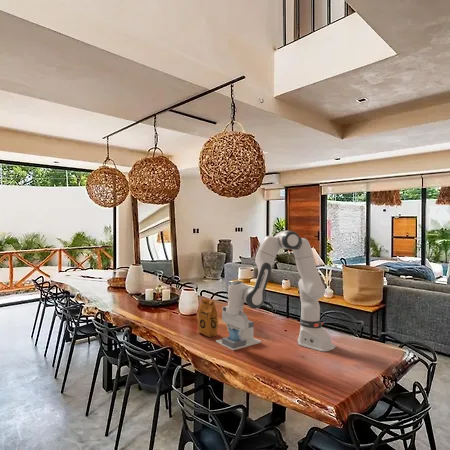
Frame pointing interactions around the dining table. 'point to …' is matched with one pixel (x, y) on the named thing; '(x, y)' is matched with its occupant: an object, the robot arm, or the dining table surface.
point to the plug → (233, 334)
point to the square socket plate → (240, 338)
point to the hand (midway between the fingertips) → (234, 333)
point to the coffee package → (207, 318)
